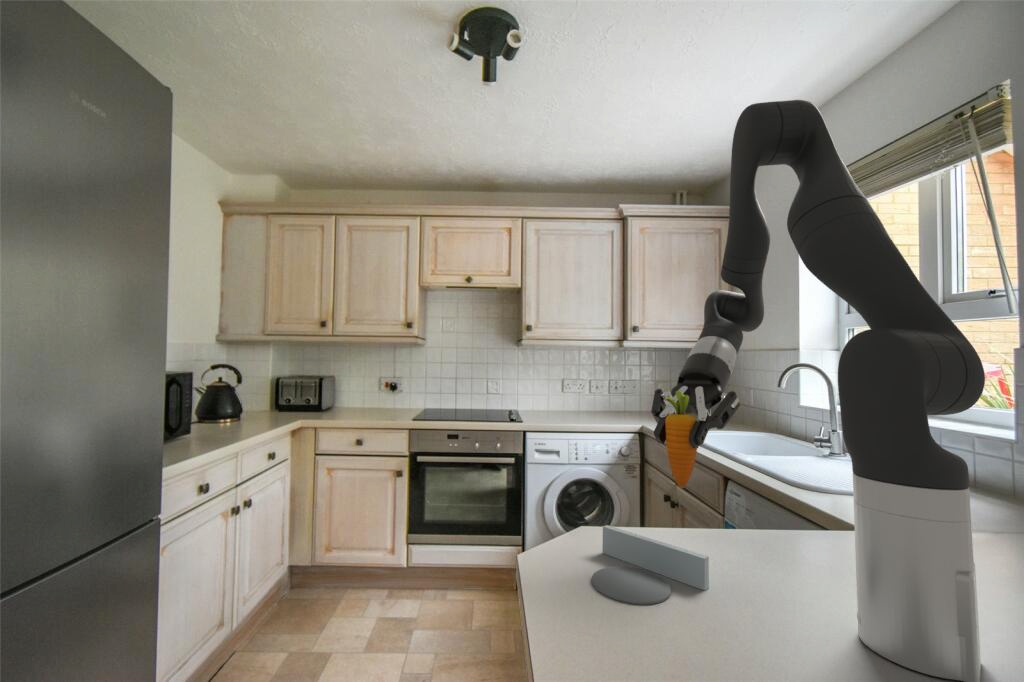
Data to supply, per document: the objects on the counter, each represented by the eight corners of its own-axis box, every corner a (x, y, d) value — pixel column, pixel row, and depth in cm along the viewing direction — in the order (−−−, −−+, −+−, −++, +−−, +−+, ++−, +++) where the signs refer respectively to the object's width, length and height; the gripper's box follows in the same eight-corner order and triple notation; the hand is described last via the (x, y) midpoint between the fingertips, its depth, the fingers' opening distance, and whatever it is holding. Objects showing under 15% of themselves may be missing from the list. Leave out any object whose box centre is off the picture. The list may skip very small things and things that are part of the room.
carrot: (693, 493, 65) (692, 391, 67) (660, 488, 68) (659, 390, 70) (702, 488, 69) (701, 391, 71) (670, 483, 72) (669, 390, 74)
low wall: (708, 588, 58) (708, 556, 59) (704, 590, 58) (704, 558, 58) (606, 551, 70) (607, 525, 70) (602, 553, 69) (602, 526, 70)
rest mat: (685, 588, 58) (684, 585, 58) (644, 613, 51) (644, 609, 51) (619, 563, 65) (619, 560, 65) (576, 582, 59) (576, 579, 59)
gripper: (662, 352, 81) (625, 421, 72) (745, 350, 71) (715, 430, 61) (676, 382, 84) (642, 452, 75) (758, 384, 74) (731, 465, 64)
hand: (675, 442), depth 68 cm, fingers closed on carrot, 5 cm apart
